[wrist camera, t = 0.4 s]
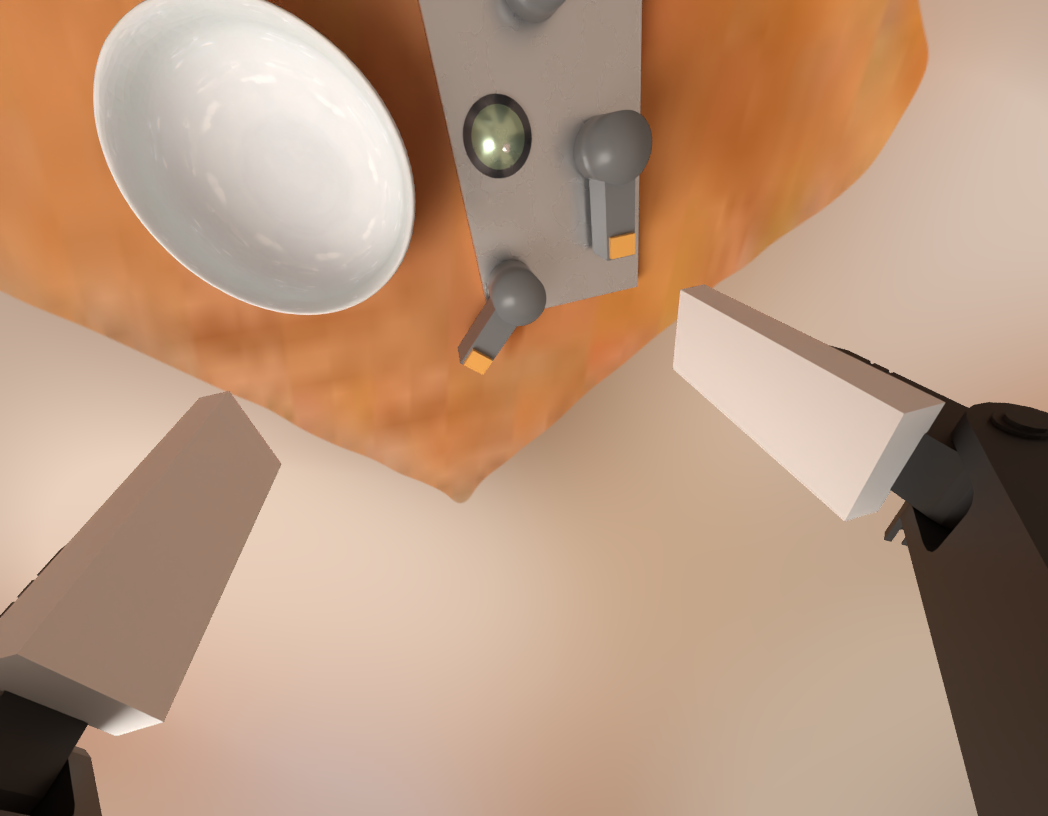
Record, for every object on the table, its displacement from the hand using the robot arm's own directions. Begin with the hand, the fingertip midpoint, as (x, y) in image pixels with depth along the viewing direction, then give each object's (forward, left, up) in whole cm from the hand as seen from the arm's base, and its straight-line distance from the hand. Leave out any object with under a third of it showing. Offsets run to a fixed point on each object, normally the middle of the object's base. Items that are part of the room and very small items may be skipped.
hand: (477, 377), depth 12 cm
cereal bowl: (-6, -9, -27) cm, 29 cm away
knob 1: (+7, +3, -25) cm, 26 cm away
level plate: (-6, +10, -27) cm, 29 cm away
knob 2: (-1, +14, -25) cm, 28 cm away
